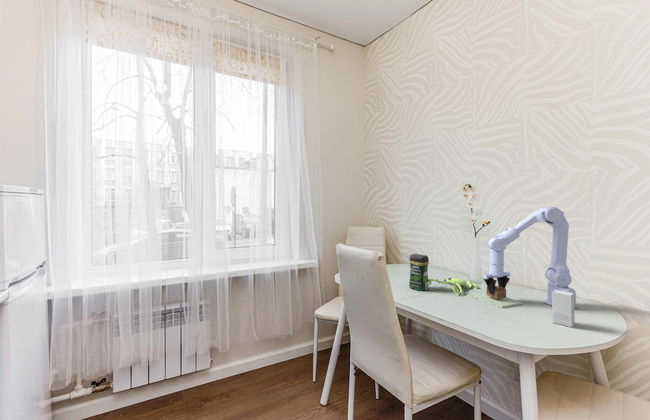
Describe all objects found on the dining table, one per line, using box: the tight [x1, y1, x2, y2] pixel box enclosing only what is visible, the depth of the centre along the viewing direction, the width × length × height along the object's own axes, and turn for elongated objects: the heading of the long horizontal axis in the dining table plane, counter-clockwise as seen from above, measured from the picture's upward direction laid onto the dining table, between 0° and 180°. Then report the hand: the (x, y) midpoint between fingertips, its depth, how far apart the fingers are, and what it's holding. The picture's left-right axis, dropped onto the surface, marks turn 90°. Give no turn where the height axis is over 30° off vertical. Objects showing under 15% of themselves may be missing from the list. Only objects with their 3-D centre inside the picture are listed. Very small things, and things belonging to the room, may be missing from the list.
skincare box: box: [551, 290, 576, 328], centre depth 110 cm, size 6×4×12 cm
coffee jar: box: [408, 253, 430, 292], centre depth 156 cm, size 10×8×19 cm
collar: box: [486, 285, 507, 299], centre depth 137 cm, size 6×6×4 cm
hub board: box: [472, 292, 523, 309], centre depth 136 cm, size 16×12×5 cm
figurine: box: [428, 277, 480, 297], centre depth 157 cm, size 18×27×6 cm
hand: (496, 292), depth 136 cm, fingers closed on collar, 5 cm apart
